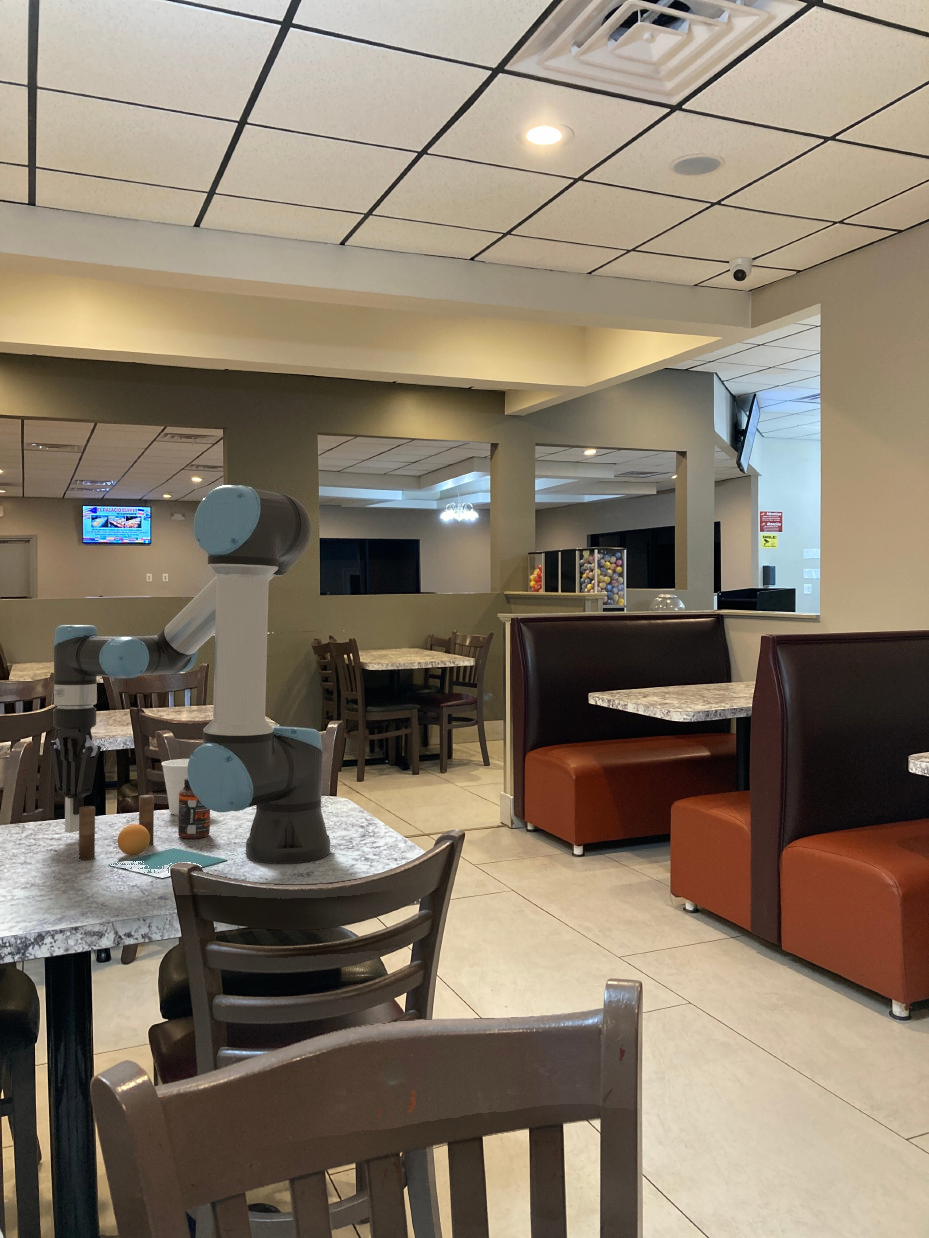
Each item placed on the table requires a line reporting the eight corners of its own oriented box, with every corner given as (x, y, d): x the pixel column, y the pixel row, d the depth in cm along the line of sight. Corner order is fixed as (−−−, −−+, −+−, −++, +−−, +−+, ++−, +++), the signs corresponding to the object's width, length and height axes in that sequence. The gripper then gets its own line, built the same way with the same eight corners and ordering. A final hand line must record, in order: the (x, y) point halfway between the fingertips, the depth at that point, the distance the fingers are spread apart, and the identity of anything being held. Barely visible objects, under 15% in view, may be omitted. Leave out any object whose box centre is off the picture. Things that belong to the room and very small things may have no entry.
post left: (97, 857, 165) (98, 807, 165) (84, 861, 163) (85, 809, 163) (88, 855, 167) (89, 805, 167) (75, 858, 165) (76, 807, 165)
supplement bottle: (198, 840, 179) (198, 781, 179) (171, 838, 181) (172, 779, 181) (216, 834, 185) (216, 776, 184) (190, 831, 186) (190, 774, 186)
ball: (146, 858, 170) (160, 839, 168) (120, 864, 165) (135, 845, 163) (132, 834, 172) (146, 815, 170) (106, 839, 168) (120, 820, 165)
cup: (215, 808, 208) (215, 759, 208) (198, 818, 198) (198, 766, 198) (172, 807, 209) (172, 758, 209) (152, 817, 199) (153, 765, 199)
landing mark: (227, 860, 165) (227, 859, 165) (162, 879, 153) (162, 877, 153) (174, 849, 172) (174, 847, 172) (108, 865, 161) (108, 864, 161)
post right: (156, 843, 176) (156, 795, 176) (144, 846, 174) (145, 798, 174) (147, 841, 177) (147, 794, 177) (135, 844, 175) (136, 796, 175)
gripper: (36, 705, 178) (35, 829, 178) (78, 710, 171) (77, 839, 171) (71, 702, 184) (70, 822, 184) (114, 707, 177) (112, 831, 177)
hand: (73, 830), depth 177 cm, fingers closed
